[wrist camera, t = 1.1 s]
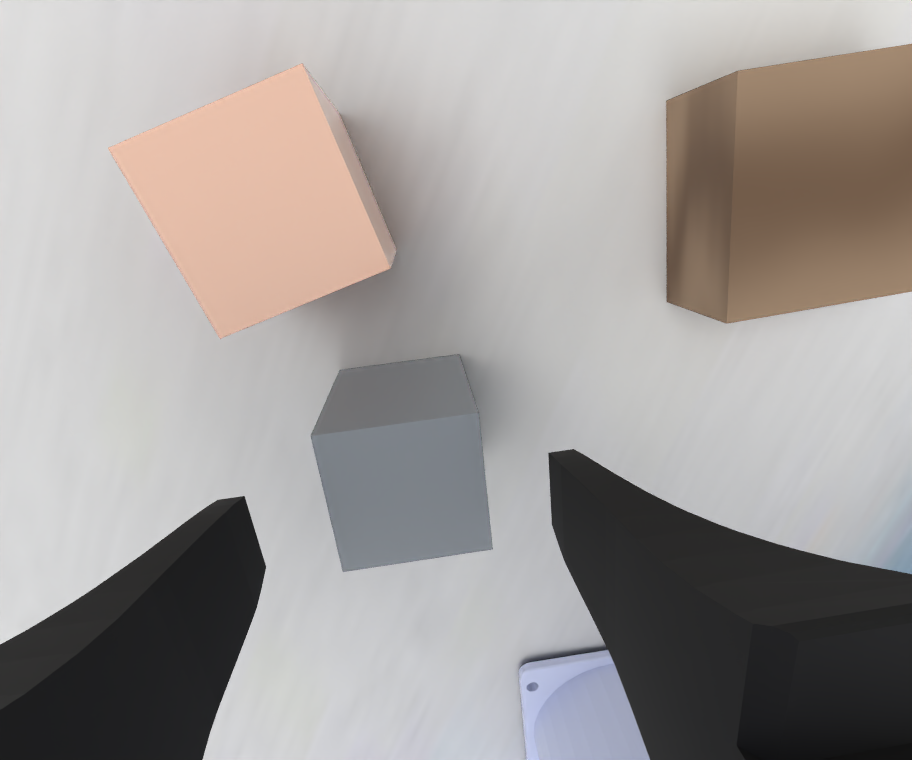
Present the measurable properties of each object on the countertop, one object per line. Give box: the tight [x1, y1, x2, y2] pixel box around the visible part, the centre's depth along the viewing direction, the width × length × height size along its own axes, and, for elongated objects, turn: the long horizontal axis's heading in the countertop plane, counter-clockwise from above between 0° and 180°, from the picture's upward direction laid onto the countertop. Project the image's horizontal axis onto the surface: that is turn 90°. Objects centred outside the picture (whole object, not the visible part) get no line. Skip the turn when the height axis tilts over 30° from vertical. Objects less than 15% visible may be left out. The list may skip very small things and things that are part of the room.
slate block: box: [311, 354, 493, 572], centre depth 15 cm, size 4×4×5 cm
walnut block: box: [666, 44, 912, 323], centre depth 14 cm, size 6×6×4 cm
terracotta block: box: [108, 63, 397, 339], centre depth 12 cm, size 4×4×5 cm
